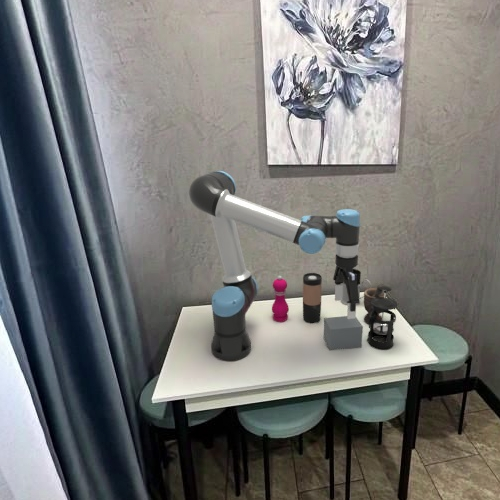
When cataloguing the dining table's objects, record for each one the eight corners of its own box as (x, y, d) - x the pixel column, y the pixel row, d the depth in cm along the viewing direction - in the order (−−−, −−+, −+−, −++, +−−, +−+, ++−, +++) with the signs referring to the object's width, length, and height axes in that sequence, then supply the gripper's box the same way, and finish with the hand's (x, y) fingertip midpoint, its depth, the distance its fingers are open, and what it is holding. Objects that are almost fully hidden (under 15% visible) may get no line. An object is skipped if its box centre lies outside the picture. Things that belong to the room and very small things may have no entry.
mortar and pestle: (393, 327, 143) (398, 282, 136) (374, 332, 141) (378, 286, 134) (375, 314, 153) (379, 271, 147) (358, 318, 151) (361, 275, 144)
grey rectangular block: (329, 350, 131) (330, 329, 128) (323, 338, 138) (324, 318, 135) (361, 347, 132) (362, 326, 129) (353, 335, 139) (354, 315, 136)
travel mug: (319, 314, 155) (321, 272, 148) (321, 324, 148) (322, 280, 141) (302, 314, 156) (302, 272, 149) (302, 323, 149) (303, 280, 142)
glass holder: (348, 295, 171) (349, 266, 166) (374, 305, 160) (377, 275, 155) (336, 301, 166) (338, 272, 160) (363, 312, 155) (365, 281, 150)
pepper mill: (289, 314, 156) (289, 273, 149) (287, 323, 150) (287, 280, 143) (273, 313, 158) (272, 271, 151) (270, 321, 151) (269, 278, 145)
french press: (400, 347, 131) (407, 291, 123) (378, 353, 128) (383, 296, 120) (380, 331, 141) (385, 278, 133) (359, 336, 139) (363, 282, 131)
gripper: (372, 266, 111) (368, 325, 118) (345, 242, 135) (343, 292, 142) (348, 269, 111) (346, 327, 118) (325, 243, 134) (324, 294, 141)
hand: (344, 308), depth 130 cm, fingers open, 13 cm apart
